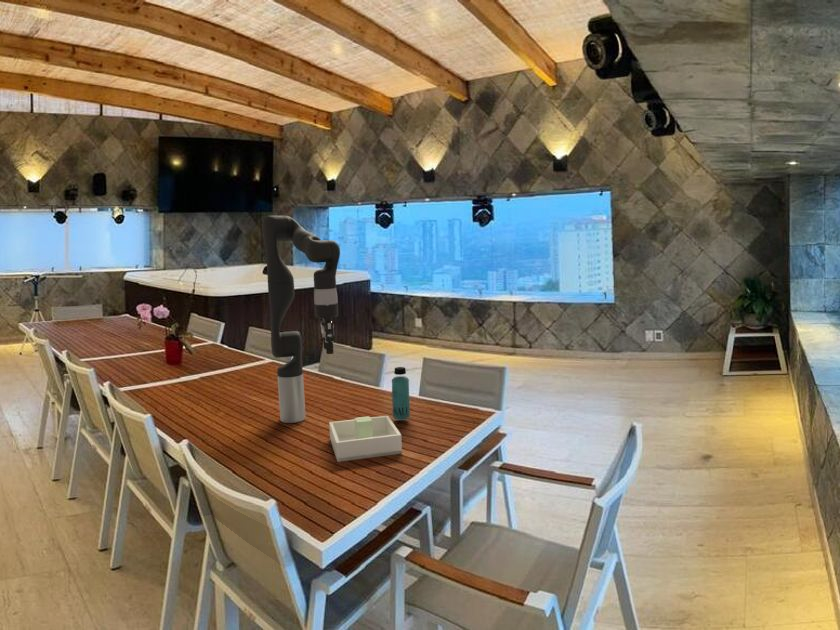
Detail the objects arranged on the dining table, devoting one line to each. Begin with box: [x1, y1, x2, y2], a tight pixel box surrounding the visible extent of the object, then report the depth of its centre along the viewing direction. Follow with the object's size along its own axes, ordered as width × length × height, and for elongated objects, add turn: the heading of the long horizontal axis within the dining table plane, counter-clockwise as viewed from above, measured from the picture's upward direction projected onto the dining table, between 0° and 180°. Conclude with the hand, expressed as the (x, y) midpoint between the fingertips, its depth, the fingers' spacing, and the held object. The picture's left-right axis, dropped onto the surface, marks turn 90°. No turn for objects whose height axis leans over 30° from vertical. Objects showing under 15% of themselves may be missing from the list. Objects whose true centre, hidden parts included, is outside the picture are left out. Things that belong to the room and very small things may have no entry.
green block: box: [354, 415, 373, 439], centre depth 181 cm, size 5×5×8 cm
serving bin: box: [328, 415, 403, 463], centre depth 181 cm, size 20×20×6 cm
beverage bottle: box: [391, 366, 411, 421], centre depth 204 cm, size 6×7×20 cm
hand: (328, 351), depth 185 cm, fingers open, 8 cm apart
